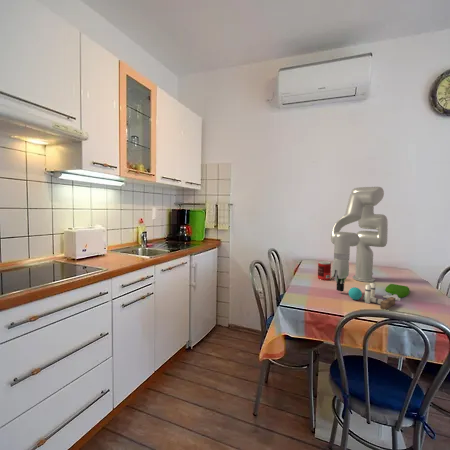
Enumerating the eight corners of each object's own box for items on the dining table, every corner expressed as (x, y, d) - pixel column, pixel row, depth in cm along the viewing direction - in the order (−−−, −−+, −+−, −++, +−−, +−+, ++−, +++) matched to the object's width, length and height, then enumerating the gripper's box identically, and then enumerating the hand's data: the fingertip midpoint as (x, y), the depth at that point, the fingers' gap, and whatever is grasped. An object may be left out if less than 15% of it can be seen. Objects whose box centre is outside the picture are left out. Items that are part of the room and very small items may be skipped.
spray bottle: (410, 292, 144) (404, 304, 126) (387, 287, 152) (379, 298, 133) (411, 286, 144) (405, 298, 126) (388, 282, 151) (379, 293, 133)
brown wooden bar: (390, 302, 125) (390, 296, 125) (395, 304, 123) (395, 297, 123) (380, 308, 117) (380, 302, 117) (385, 309, 116) (385, 303, 116)
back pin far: (370, 299, 130) (371, 282, 130) (375, 300, 128) (376, 283, 128) (368, 300, 128) (369, 283, 128) (373, 301, 127) (374, 284, 126)
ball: (366, 294, 126) (361, 297, 131) (358, 283, 128) (353, 287, 134) (357, 300, 124) (352, 303, 129) (348, 289, 127) (344, 292, 132)
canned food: (331, 278, 169) (331, 261, 168) (329, 281, 162) (329, 263, 161) (318, 276, 173) (319, 260, 172) (316, 279, 166) (317, 262, 165)
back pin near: (365, 301, 127) (366, 284, 126) (371, 302, 125) (372, 285, 124) (363, 302, 125) (364, 284, 125) (369, 303, 123) (369, 286, 123)
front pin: (365, 294, 129) (383, 298, 123) (365, 299, 130) (384, 303, 123) (362, 296, 128) (381, 300, 121) (363, 300, 128) (382, 305, 121)
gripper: (341, 254, 145) (340, 286, 146) (327, 256, 135) (326, 291, 137) (355, 256, 139) (353, 289, 140) (341, 259, 130) (339, 295, 131)
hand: (340, 290), depth 138 cm, fingers closed
